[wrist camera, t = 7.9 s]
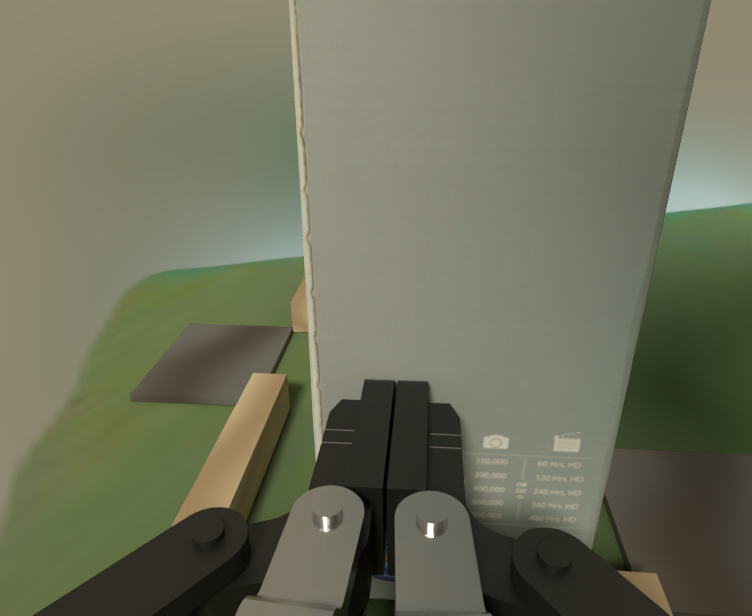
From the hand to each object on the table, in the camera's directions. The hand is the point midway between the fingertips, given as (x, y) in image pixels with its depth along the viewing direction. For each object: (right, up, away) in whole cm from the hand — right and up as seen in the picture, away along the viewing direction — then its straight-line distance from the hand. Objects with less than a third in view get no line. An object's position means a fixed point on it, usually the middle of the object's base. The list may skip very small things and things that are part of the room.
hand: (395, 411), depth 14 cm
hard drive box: (+3, -3, +10) cm, 11 cm away
